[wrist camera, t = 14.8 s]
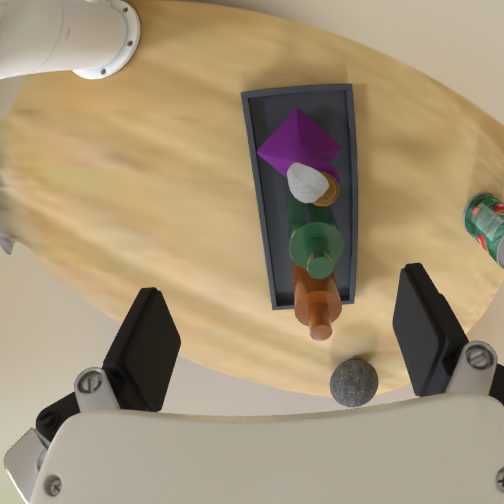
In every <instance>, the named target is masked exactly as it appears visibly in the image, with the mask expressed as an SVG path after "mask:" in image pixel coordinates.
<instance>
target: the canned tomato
mask: <svg viewBox="0 0 504 504" xmlns="http://www.w3.org/2000/svg"><path fill="white" fill-rule="evenodd" d="M463 222H464V226H465V229H466V230H467V232H468V233H470V234H471V235H472V236H473V237H474V238H475V239H476V241H477V242H478V243H479V244H480V245H481V246H482V247H483V248H484V249H485V250H486V251H487V252H488V253H489V255H490V256H491V257H492V258H493V259H494V260H495V261H496V262H497V263H498V265H499V266H500V267H501V268H502V269H504V204H503V203H502V202H501V201H499V200H498V199H497V198H495V197H494V196H493V195H491V194H490V193H487V192H482V193H479V194H477V195H475V196H474V197H473V198H472V199H471V200H470V201H469V203H468V204H467V206H466V208H465V211H464V216H463Z"/></svg>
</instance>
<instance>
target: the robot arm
mask: <svg viewBox="0 0 504 504" xmlns="http://www.w3.org/2000/svg"><path fill="white" fill-rule="evenodd" d="M127 10H128V11H127ZM140 32H141V27H140V20H139V16H138V14H137V13H136V11H135V10H134V8H133V7H132V6H131V5H129V4H128V3H126V2H124V1H121V0H87V1H85V0H0V79H3V78H8V77H13V76H19V75H26V74H33V73H41V72H50V71H62V70H72V71H73V72H75V73H76V74H77V75H79V76H81V77H83V78H87V79H99V78H104V77H107V76H110V75H112V74H114V73H115V72H117V71H118V70H120V69H121V68H122V67H123V66H124V65H125V64H126V63H127V62H128V61H129V59H130V58H131V57H132V55H133V54H134V52H135V50H136V48H137V45H138V42H139V39H140ZM132 42H133V44H132ZM131 44H132V45H131ZM105 71H106V72H105ZM393 329H394V332H395V335H396V337H397V340H398V343H399V346H400V349H401V352H402V355H403V358H404V361H405V364H406V367H407V370H408V373H409V377H410V380H411V383H412V386H413V390H414V393H415V395H416V396H420V397H419V398H415V399H409V400H404V401H398V402H393V403H387V404H380V405H374V406H368V407H361V408H354V409H346V410H338V411H330V412H319V413H306V414H292V415H272V416H206V415H186V414H172V413H159V412H158V411H160V410H161V409H162V406H163V402H164V399H165V395H166V392H167V389H168V385H169V382H170V378H171V375H172V372H173V368H174V365H175V362H176V358H177V355H178V352H179V349H180V345H181V339H180V336H179V333H178V331H177V329H176V326H175V324H174V322H173V319H172V317H171V315H170V312H169V310H168V307H167V305H166V302H165V300H164V297H163V295H162V293H161V291H158V290H157V289H156V288H155V287H151V288H142V289H141V290H140V291H139V293H138V295H137V297H136V299H135V301H134V302H133V304H132V306H131V308H130V310H129V312H128V314H127V316H126V318H125V319H124V321H123V323H122V325H121V327H120V329H119V331H118V333H117V336H116V337H115V339H114V341H113V343H112V345H111V347H110V349H109V351H108V353H107V355H106V358H105V359H104V362H103V366H102V368H98V367H91V368H88V369H86V370H84V371H83V372H81V373H80V374H79V375H78V377H77V378H76V380H75V383H74V390H75V391H74V392H72V393H71V394H69V395H67V396H66V397H64V398H62V399H60V400H59V401H57V402H55V403H53V404H52V405H50V406H48V407H47V408H45V409H43V410H42V411H41V412H40V414H39V415H38V417H37V419H36V429H33V428H31V429H30V430H28V431H27V432H26V433H25V434H24V436H22V437H21V438H20V439H19V440H18V441H17V442H16V443H15V444H14V445H13V446H12V447H11V448H10V449H9V450H8V451H7V453H6V454H5V457H4V466H5V469H6V470H7V472H8V474H9V476H10V478H11V479H12V481H13V483H14V485H15V486H16V488H17V490H18V491H19V493H20V495H21V496H22V498H23V500H24V501H25V503H26V504H504V366H502V365H500V364H498V363H497V354H496V352H495V350H494V349H493V348H492V347H491V346H490V345H489V344H487V343H485V342H483V341H471V342H469V341H468V339H467V337H466V335H465V333H464V331H463V329H462V327H461V325H460V324H459V322H458V320H457V318H456V316H455V314H454V313H453V311H452V309H451V307H450V306H449V304H448V302H447V300H446V299H445V297H444V296H443V295H442V294H439V292H438V290H437V289H436V287H435V285H434V284H433V282H432V280H431V279H430V277H429V275H428V274H427V272H426V271H425V269H424V267H423V266H422V264H421V263H412V264H406V265H405V268H402V269H401V272H400V279H399V286H398V292H397V299H396V305H395V310H394V316H393Z"/></svg>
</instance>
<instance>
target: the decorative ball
mask: <svg viewBox="0 0 504 504" xmlns="http://www.w3.org/2000/svg"><path fill="white" fill-rule="evenodd" d="M377 388H378V375H377V372H376V370H375V369H374V368H373V366H372V365H371V364H369V363H368V362H366V361H363V360H357V359H355V360H349V361H346V362H344V363H342V364H341V365H339V366H338V367H337V368H336V369H335V371H334V372H333V374H332V376H331V379H330V391H331V394H332V396H333V397H334V399H335V400H336V401H337V402H338V403H340V404H341V405H343V406H347V407H358V406H361V405H364V404H366V403H367V402H368V401H370V400H371V399H372V398H373V396H374V395H375V393H376V391H377Z"/></svg>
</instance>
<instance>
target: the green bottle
mask: <svg viewBox="0 0 504 504" xmlns="http://www.w3.org/2000/svg"><path fill="white" fill-rule="evenodd" d="M287 219H288V239H289V252H290V256H291V258H292V259H293V261H294V262H295V263H296V264H297V265H298V266H300V267H302V268H304V269H307V271H308V273H309V275H310V276H312V277H313V278H316V279H323V278H326V277H328V276H329V275H330V274H331V273H332V271H333V268H334V266H333V264H334V263H336V262H337V261H338V259H339V258H340V256H341V254H342V252H343V247H344V243H343V238H342V236H341V233H340V230H339V227H338V225H337V222H336V219H335V217H334V214H333V211H332V209H331V206H330V205H327V206H316V205H315V204H313V203H304V202H301V201H299V200H298V199H296V198H295V197H294V195H292V196H291V197H290V199H289V201H288V204H287Z"/></svg>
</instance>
